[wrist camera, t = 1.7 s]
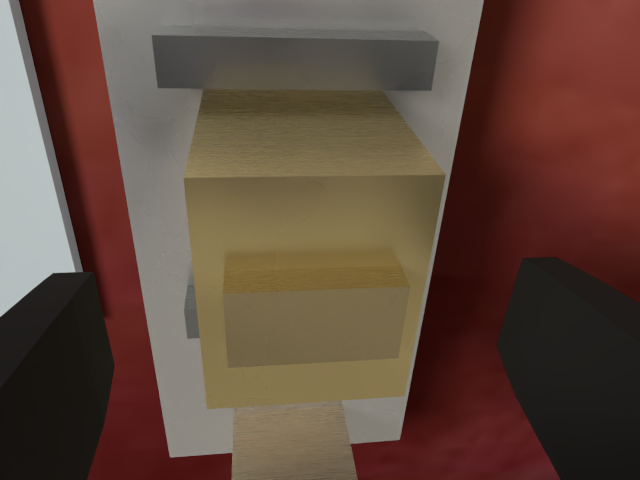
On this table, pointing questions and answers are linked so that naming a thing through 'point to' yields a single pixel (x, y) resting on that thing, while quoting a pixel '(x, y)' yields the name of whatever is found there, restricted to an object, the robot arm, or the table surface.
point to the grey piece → (172, 154)
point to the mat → (27, 174)
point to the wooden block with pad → (307, 244)
